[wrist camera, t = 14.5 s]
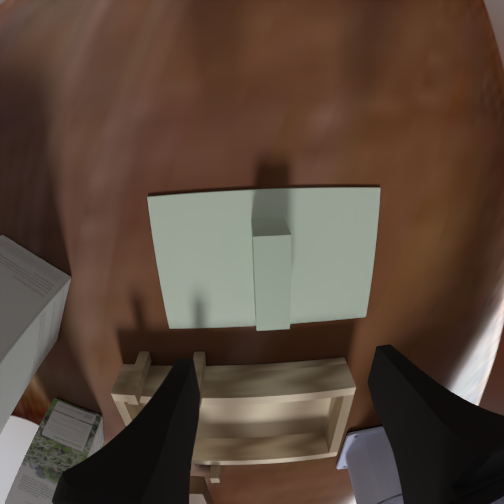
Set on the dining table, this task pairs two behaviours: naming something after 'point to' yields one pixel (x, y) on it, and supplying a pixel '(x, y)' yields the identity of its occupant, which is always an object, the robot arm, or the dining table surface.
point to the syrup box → (56, 451)
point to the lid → (265, 255)
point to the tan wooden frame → (253, 408)
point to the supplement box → (26, 318)
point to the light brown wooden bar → (199, 491)
